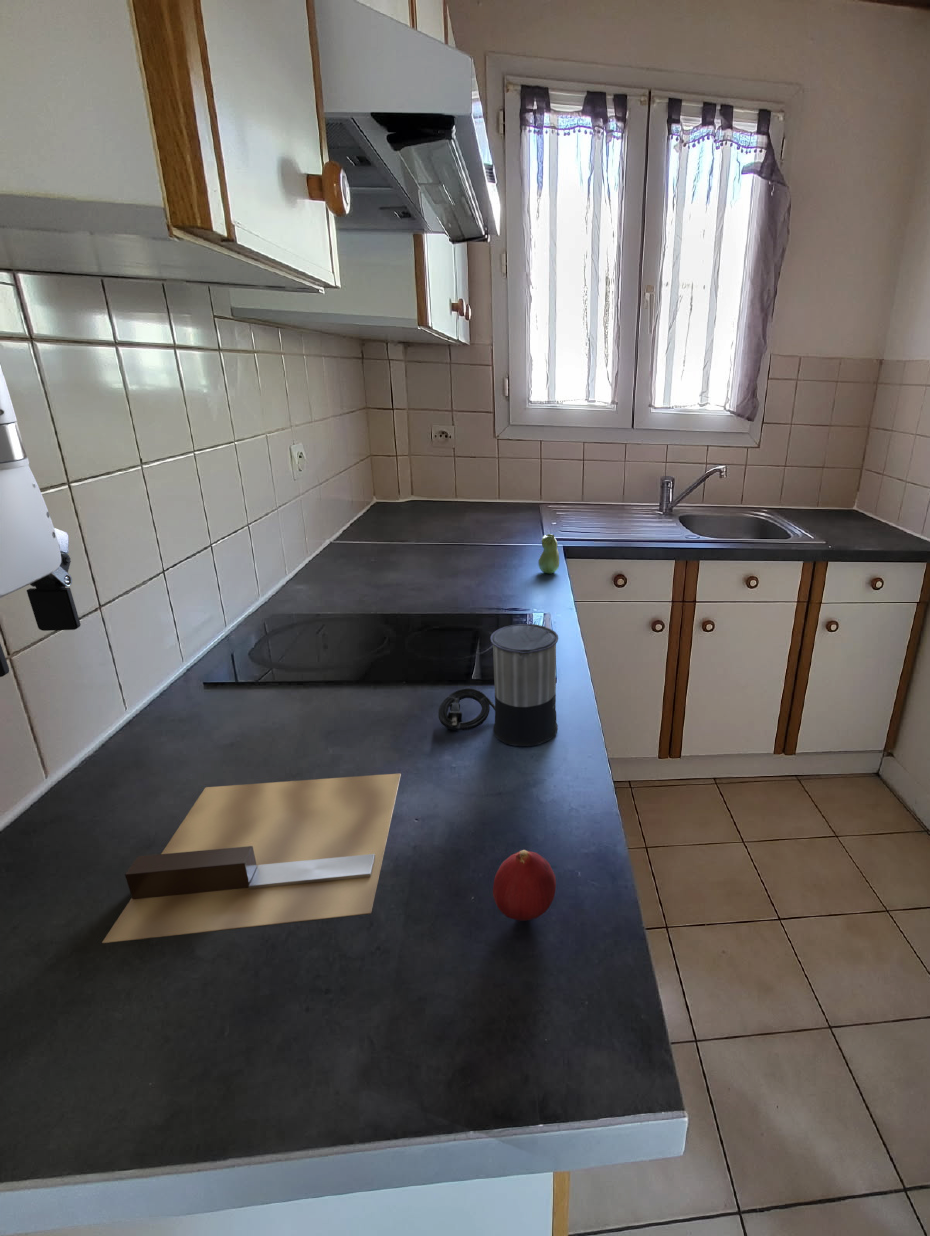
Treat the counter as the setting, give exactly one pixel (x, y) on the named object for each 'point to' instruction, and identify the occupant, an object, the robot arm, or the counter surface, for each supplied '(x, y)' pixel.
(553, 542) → the pear
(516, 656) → the milk frother
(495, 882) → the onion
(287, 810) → the chopping board
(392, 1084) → the counter surface
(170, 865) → the knife
